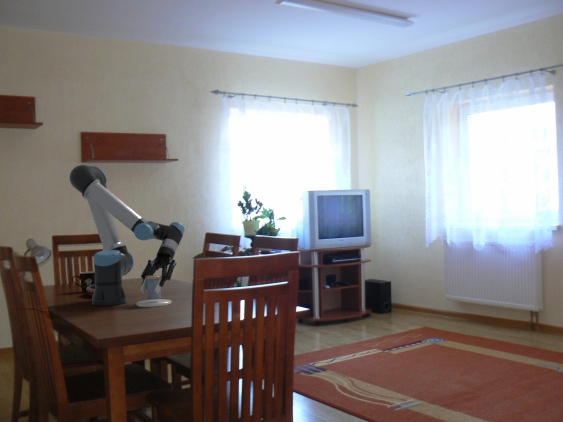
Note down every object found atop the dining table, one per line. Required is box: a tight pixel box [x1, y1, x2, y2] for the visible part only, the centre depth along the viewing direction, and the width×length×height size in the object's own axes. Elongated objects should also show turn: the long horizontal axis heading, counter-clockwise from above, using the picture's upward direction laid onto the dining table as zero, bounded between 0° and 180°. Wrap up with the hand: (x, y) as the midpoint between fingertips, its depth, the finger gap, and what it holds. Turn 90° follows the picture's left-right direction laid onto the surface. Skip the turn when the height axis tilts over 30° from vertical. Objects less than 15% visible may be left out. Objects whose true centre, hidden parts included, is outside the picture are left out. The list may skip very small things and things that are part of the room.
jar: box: [146, 274, 162, 300], centre depth 265 cm, size 6×6×10 cm
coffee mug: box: [71, 271, 95, 293], centre depth 316 cm, size 12×9×10 cm
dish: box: [86, 284, 95, 297], centre depth 302 cm, size 16×31×5 cm, turn 17°
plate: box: [135, 298, 172, 308], centre depth 265 cm, size 15×15×1 cm
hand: (149, 291), depth 261 cm, fingers closed on jar, 6 cm apart
